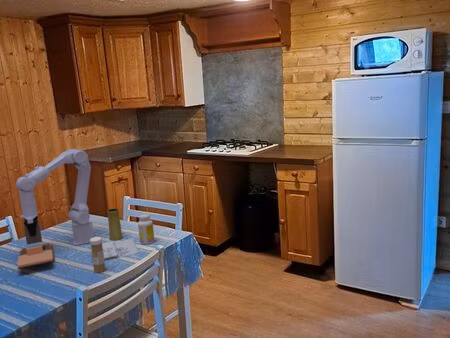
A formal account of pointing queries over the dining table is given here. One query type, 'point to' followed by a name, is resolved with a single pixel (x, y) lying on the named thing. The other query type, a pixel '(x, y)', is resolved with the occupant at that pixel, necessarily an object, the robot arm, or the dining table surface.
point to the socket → (45, 248)
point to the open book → (124, 249)
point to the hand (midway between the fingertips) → (33, 234)
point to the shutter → (35, 256)
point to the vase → (114, 224)
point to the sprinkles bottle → (97, 254)
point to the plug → (35, 238)
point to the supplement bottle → (145, 229)
